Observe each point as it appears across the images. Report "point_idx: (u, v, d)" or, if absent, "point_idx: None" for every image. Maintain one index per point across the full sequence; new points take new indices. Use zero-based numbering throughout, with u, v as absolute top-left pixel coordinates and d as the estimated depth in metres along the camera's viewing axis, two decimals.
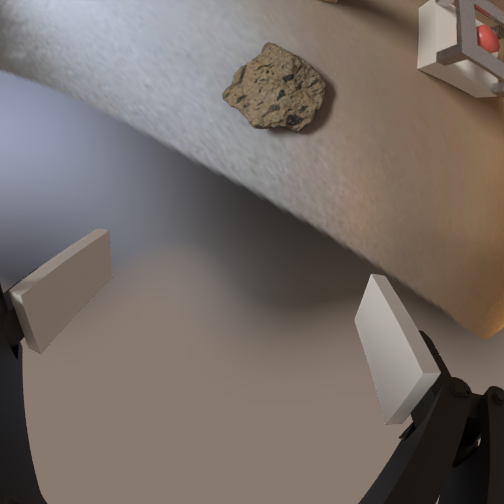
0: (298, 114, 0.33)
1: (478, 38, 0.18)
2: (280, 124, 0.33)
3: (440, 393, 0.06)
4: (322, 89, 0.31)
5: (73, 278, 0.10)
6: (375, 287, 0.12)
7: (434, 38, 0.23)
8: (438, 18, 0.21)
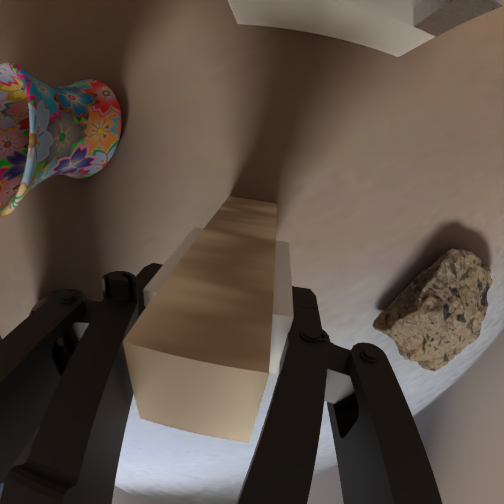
0: (482, 290, 0.19)
1: None
2: (485, 311, 0.20)
3: (289, 343, 0.08)
4: (461, 256, 0.18)
5: None
6: None
7: (368, 15, 0.10)
8: None
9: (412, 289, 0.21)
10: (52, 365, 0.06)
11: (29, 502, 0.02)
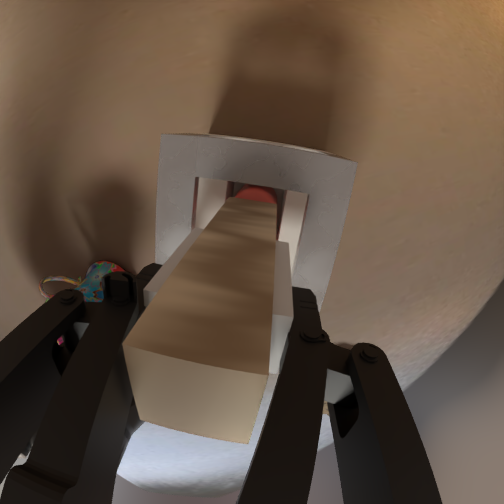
0: None
1: None
2: None
3: (289, 343, 0.08)
4: None
5: None
6: None
7: None
8: None
9: None
10: (52, 365, 0.06)
11: (29, 502, 0.02)
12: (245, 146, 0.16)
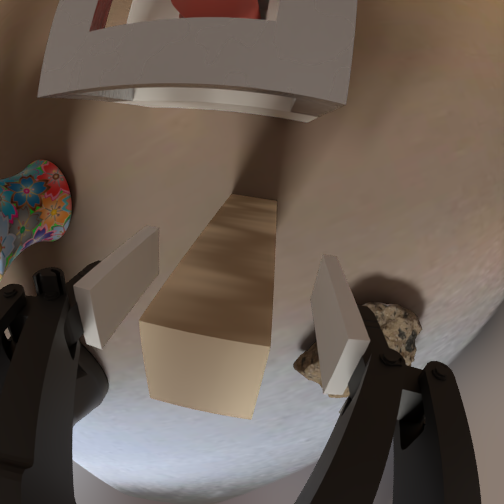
0: (407, 338, 0.23)
1: (227, 16, 0.10)
2: (413, 356, 0.23)
3: (369, 364, 0.07)
4: (377, 310, 0.22)
5: (131, 273, 0.12)
6: (324, 265, 0.13)
7: (243, 106, 0.14)
8: (177, 94, 0.14)
9: None
10: (3, 355, 0.06)
11: None
12: None
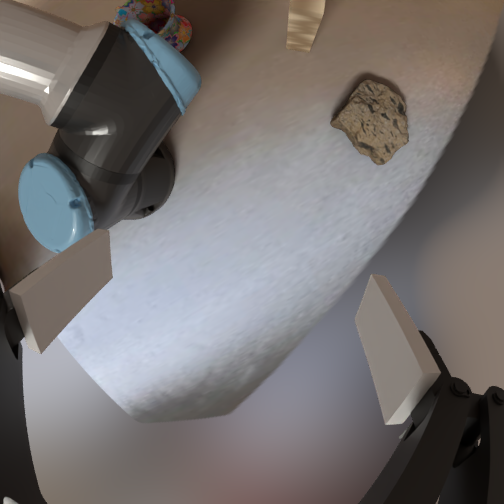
0: (397, 105, 0.34)
1: None
2: (406, 120, 0.35)
3: (440, 393, 0.06)
4: (373, 82, 0.34)
5: (73, 278, 0.10)
6: (375, 286, 0.12)
7: None
8: None
9: (348, 100, 0.36)
10: None
11: None
12: None
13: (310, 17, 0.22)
